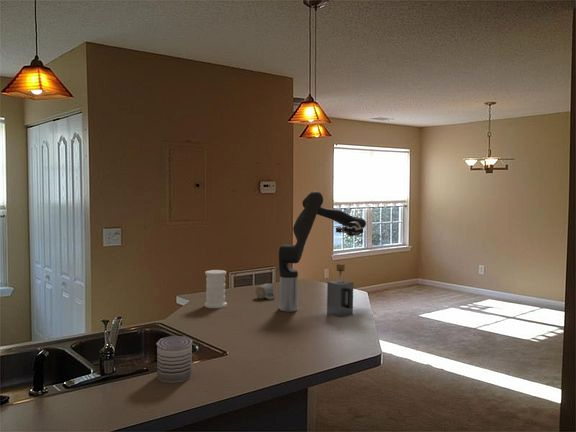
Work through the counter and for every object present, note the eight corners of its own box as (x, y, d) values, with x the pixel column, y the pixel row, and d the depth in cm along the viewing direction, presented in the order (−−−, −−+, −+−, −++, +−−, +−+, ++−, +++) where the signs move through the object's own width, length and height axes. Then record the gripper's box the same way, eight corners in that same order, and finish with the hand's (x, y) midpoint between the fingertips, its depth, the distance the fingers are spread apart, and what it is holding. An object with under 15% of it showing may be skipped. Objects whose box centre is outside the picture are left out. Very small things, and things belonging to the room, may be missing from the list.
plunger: (330, 304, 253) (331, 264, 252) (340, 303, 257) (340, 263, 256) (339, 307, 248) (340, 265, 247) (349, 305, 252) (350, 264, 251)
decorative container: (229, 307, 265) (229, 272, 264) (207, 308, 261) (207, 274, 260) (223, 302, 276) (223, 269, 275) (202, 304, 271) (202, 270, 270)
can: (194, 370, 175) (194, 335, 174) (189, 383, 163) (189, 346, 163) (161, 370, 174) (160, 335, 174) (153, 383, 163) (153, 346, 162)
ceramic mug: (254, 298, 286) (254, 284, 286) (262, 295, 293) (263, 282, 292) (269, 301, 280) (269, 287, 280) (278, 298, 287) (278, 285, 287)
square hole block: (326, 313, 254) (327, 281, 253) (339, 311, 259) (340, 279, 258) (344, 318, 244) (344, 285, 243) (357, 315, 250) (357, 283, 249)
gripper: (340, 221, 283) (334, 223, 268) (365, 222, 279) (361, 224, 263) (340, 234, 284) (333, 237, 268) (365, 235, 279) (360, 238, 264)
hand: (347, 231), depth 266 cm, fingers open, 8 cm apart
